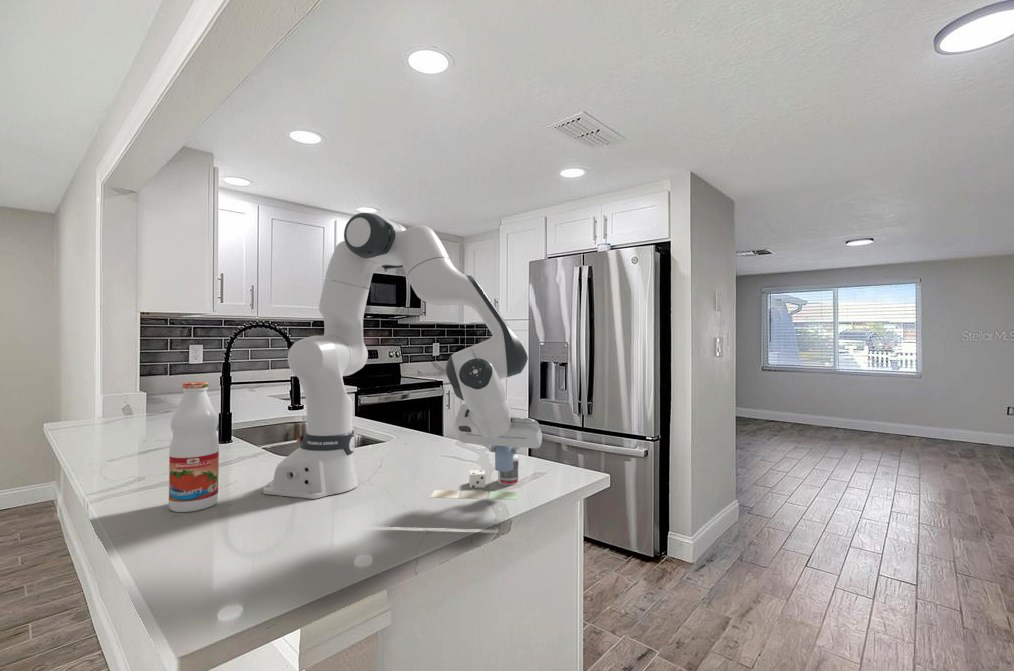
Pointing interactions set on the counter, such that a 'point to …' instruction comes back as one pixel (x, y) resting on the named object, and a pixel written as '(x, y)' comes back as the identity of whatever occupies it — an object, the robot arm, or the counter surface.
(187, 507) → the fruit juice
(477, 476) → the die
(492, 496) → the track
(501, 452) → the pawn
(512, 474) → the pill bottle
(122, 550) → the counter surface
